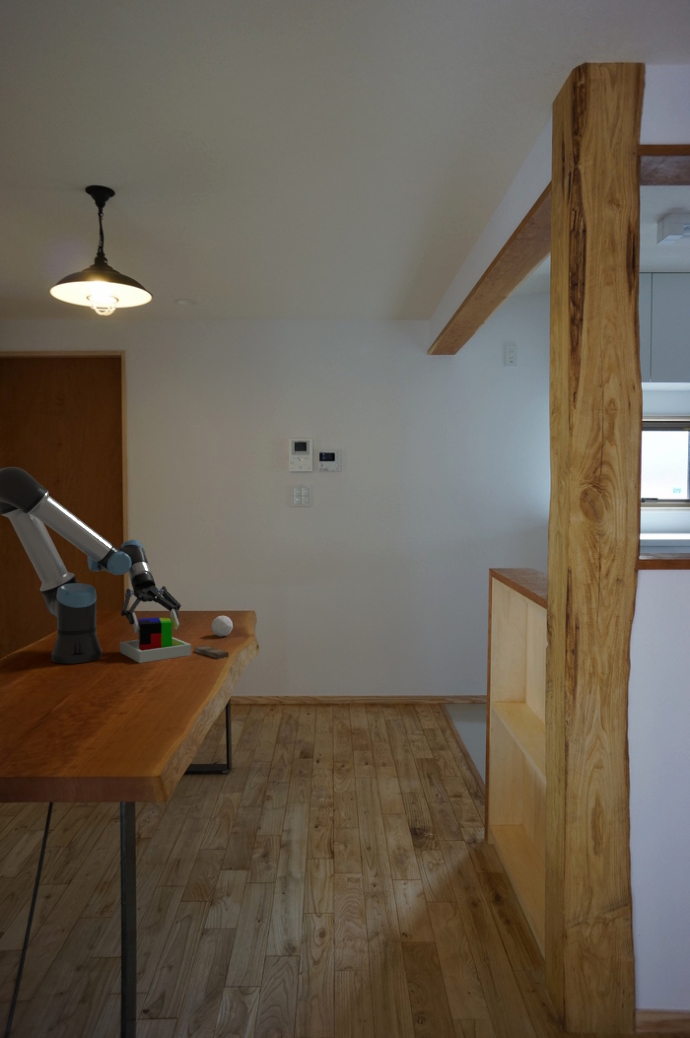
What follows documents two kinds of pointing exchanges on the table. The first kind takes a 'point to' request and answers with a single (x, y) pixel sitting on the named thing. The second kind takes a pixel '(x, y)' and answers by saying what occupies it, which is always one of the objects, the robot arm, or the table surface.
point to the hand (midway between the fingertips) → (157, 629)
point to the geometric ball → (222, 626)
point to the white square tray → (155, 651)
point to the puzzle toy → (154, 633)
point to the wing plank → (211, 651)
